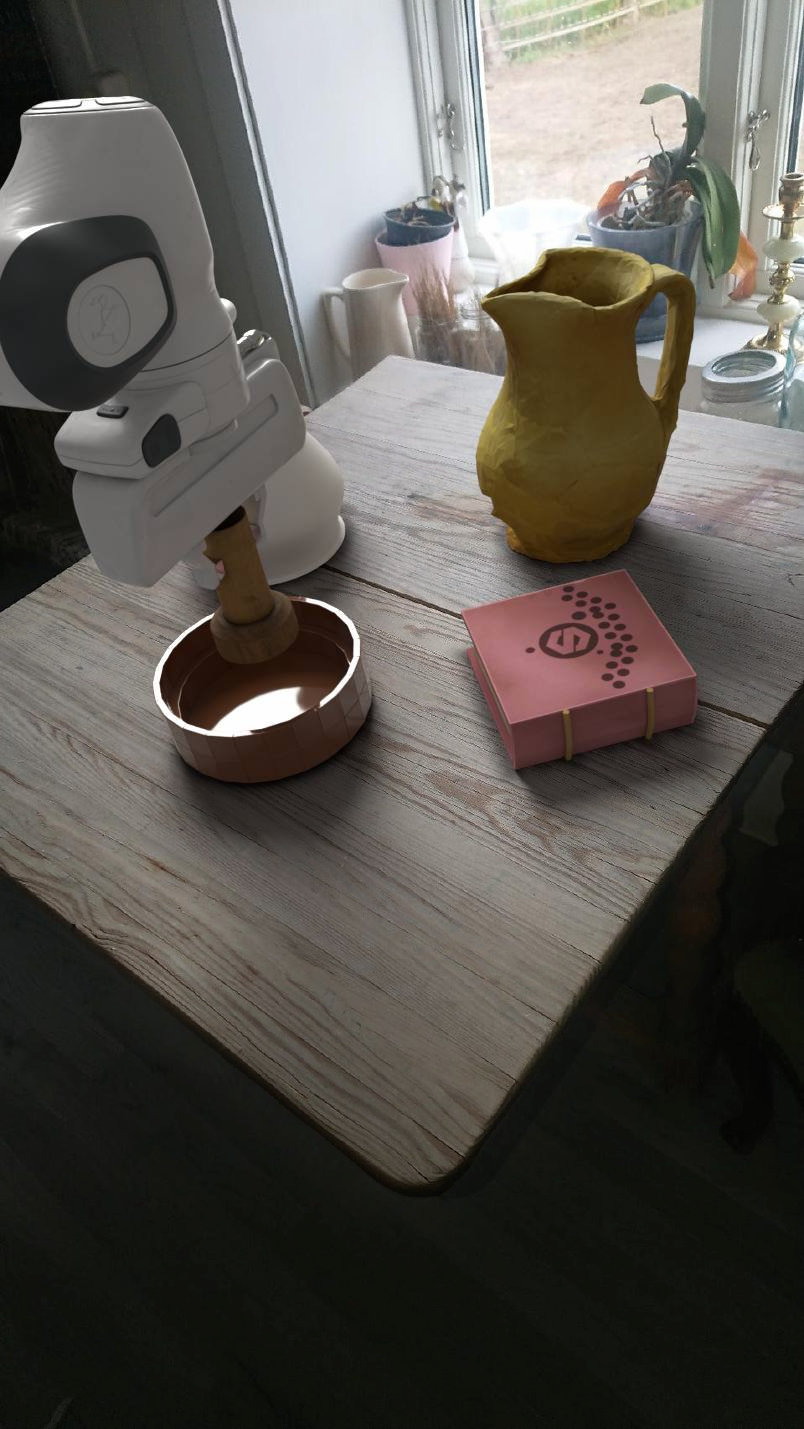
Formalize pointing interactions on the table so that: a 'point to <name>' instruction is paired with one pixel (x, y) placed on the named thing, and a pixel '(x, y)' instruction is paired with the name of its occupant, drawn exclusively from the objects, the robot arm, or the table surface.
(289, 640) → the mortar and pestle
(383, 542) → the table surface
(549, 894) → the table surface
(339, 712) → the bowl
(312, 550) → the vase
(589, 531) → the pitcher
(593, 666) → the book
